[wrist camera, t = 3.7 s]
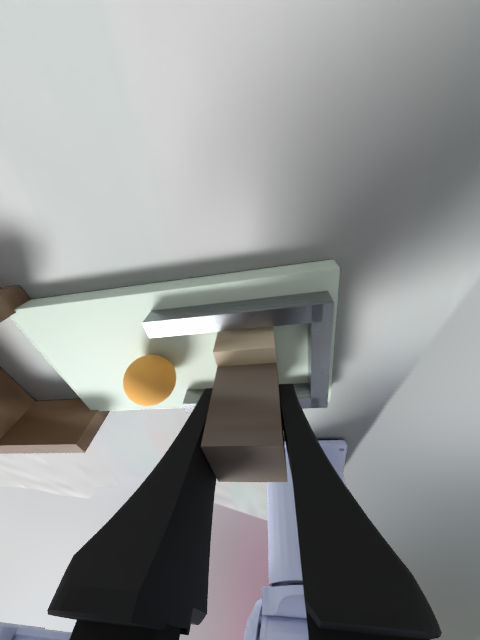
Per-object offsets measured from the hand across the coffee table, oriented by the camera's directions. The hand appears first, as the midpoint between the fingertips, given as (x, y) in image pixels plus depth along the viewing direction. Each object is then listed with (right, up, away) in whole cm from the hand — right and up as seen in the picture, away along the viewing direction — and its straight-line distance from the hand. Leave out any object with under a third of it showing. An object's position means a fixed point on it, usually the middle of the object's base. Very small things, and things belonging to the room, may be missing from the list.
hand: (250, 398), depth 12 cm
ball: (-6, 0, +2) cm, 6 cm away
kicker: (0, +2, +2) cm, 3 cm away
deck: (-4, +2, +4) cm, 6 cm away
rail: (0, +2, +3) cm, 3 cm away
